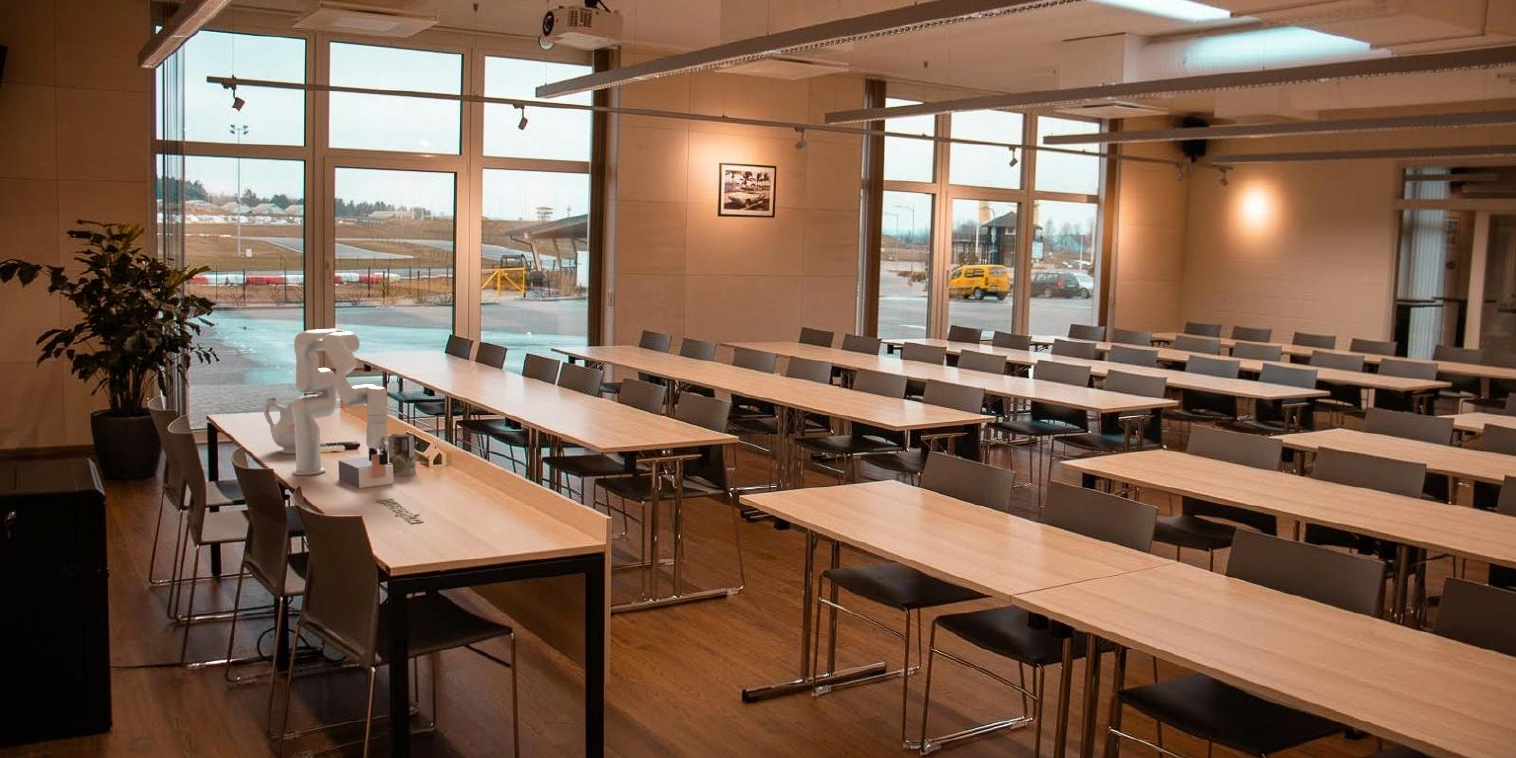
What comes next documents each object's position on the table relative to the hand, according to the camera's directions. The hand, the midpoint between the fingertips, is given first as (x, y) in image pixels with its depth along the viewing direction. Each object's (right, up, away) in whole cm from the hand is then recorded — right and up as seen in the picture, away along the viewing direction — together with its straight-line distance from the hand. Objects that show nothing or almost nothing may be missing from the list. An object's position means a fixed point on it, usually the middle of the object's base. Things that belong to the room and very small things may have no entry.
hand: (378, 462), depth 465 cm
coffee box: (+1, -7, +27) cm, 28 cm away
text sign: (+19, -15, -36) cm, 44 cm away
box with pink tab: (-7, -8, +9) cm, 14 cm away
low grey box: (-8, -8, +11) cm, 16 cm away
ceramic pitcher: (-61, 0, +71) cm, 93 cm away
